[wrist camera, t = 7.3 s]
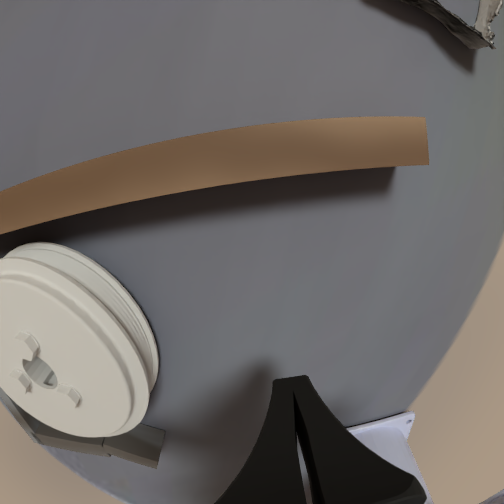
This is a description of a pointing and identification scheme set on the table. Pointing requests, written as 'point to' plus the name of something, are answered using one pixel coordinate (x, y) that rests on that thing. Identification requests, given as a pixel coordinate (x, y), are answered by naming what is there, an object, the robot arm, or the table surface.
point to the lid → (73, 342)
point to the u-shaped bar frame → (191, 178)
